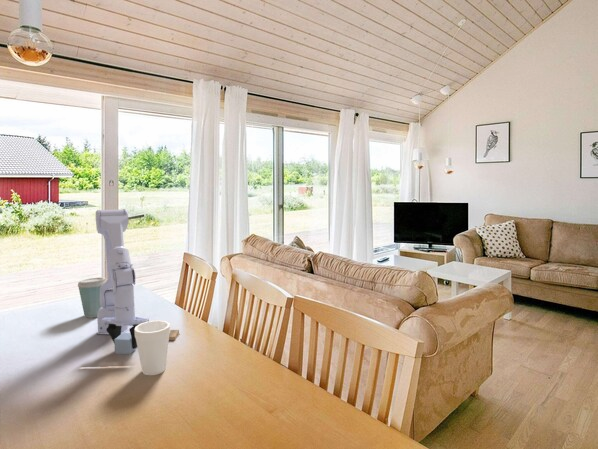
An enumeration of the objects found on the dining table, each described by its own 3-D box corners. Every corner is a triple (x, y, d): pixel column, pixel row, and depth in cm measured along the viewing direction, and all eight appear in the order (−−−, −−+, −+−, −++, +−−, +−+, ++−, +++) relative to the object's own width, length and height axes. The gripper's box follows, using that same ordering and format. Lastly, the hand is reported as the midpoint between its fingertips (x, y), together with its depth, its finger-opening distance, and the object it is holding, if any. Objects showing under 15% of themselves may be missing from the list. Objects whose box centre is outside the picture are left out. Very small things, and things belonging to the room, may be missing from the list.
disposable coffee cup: (72, 318, 152) (70, 281, 150) (94, 309, 162) (92, 274, 161) (94, 321, 149) (92, 283, 147) (115, 312, 159) (113, 276, 158)
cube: (115, 354, 121) (114, 339, 120) (123, 347, 126) (122, 332, 125) (130, 355, 120) (129, 339, 120) (138, 348, 125) (137, 333, 125)
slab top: (156, 340, 130) (156, 337, 130) (161, 333, 136) (161, 330, 136) (175, 340, 131) (175, 336, 130) (178, 333, 137) (178, 329, 136)
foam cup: (178, 366, 113) (176, 323, 112) (154, 381, 105) (152, 335, 104) (154, 359, 117) (152, 318, 116) (129, 373, 109) (127, 329, 107)
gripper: (94, 309, 118) (97, 351, 119) (140, 310, 117) (142, 353, 118) (107, 302, 125) (110, 342, 126) (151, 303, 124) (153, 343, 125)
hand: (126, 347), depth 123 cm, fingers closed on cube, 5 cm apart
